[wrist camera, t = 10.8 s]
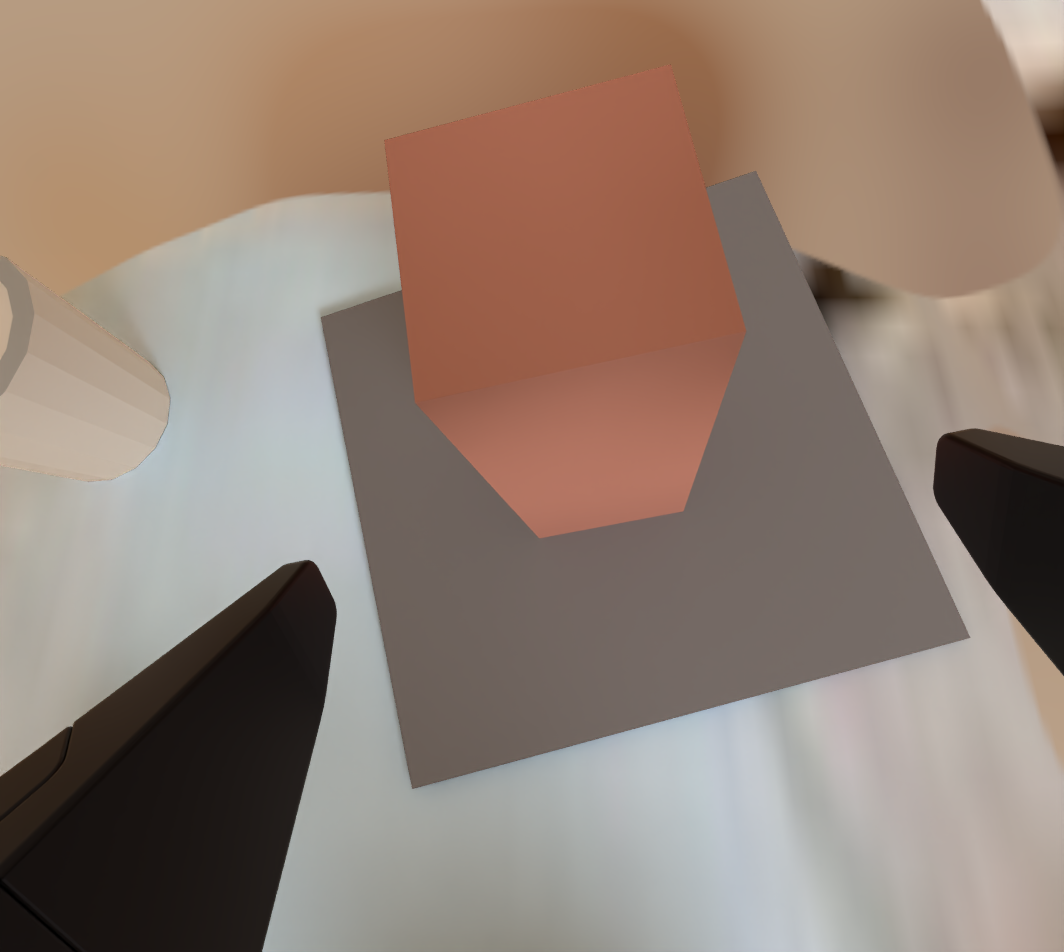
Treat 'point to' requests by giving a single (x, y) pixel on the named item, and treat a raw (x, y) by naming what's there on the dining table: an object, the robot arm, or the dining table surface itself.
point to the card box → (568, 299)
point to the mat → (637, 544)
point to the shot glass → (71, 388)
